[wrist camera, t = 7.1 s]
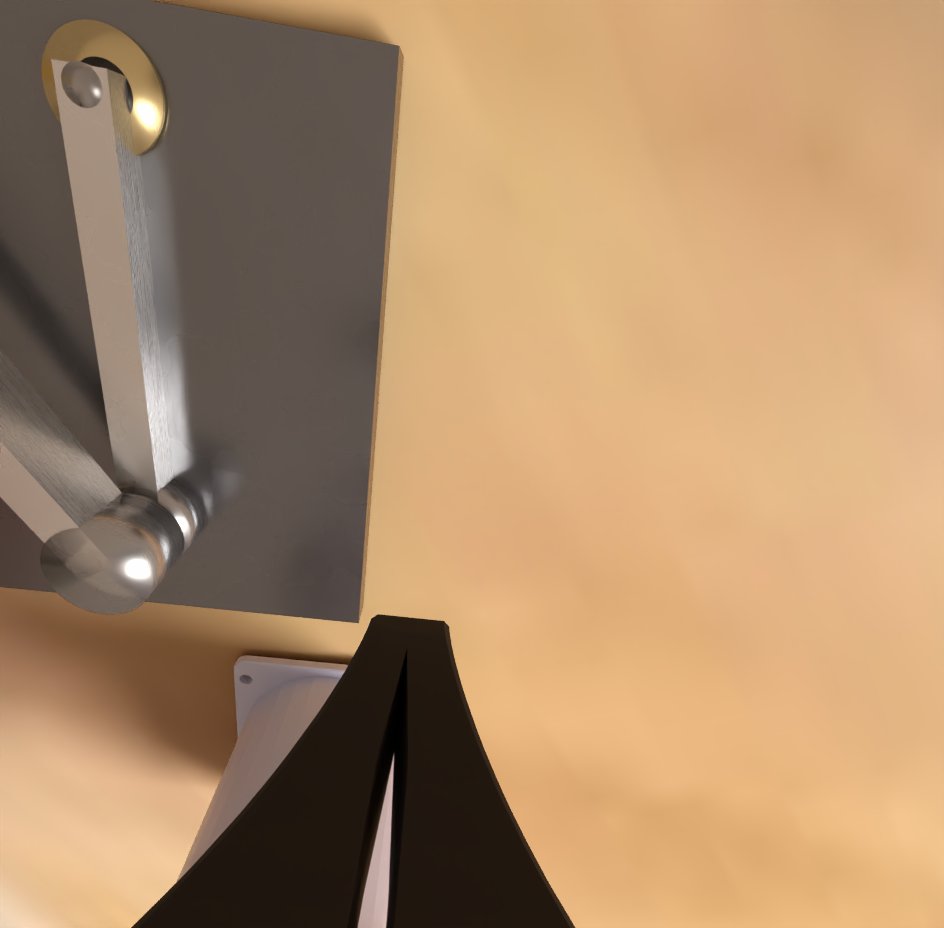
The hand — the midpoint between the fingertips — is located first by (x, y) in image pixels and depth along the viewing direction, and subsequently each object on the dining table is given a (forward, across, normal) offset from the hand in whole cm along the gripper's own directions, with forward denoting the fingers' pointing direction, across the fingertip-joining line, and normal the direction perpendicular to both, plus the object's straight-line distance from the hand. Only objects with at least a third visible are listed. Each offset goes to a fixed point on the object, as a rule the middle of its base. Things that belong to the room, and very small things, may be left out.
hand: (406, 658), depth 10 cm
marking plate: (+9, +11, -2) cm, 15 cm away
